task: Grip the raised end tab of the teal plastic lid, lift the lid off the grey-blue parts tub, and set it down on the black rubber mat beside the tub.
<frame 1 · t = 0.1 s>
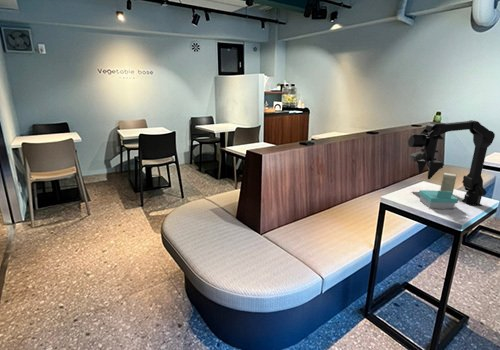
hand: (424, 176, 151), 15 cm above the table, tool pointing down, fingers open, 9 cm apart
lid: (437, 198, 150), point 4 cm above the table, touching tub
tub: (435, 204, 151), on the table
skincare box: (445, 194, 167), on the table
mat: (428, 196, 163), on the table
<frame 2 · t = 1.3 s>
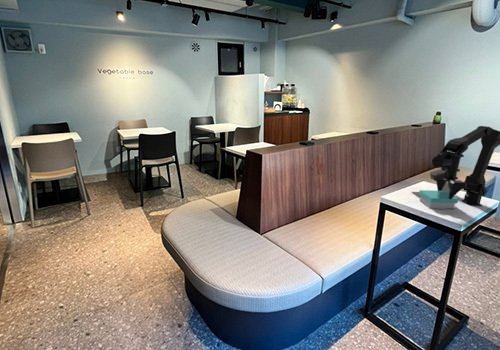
hand: (444, 195, 145), 7 cm above the table, tool pointing down, fingers open, 9 cm apart
nothing on the table moved.
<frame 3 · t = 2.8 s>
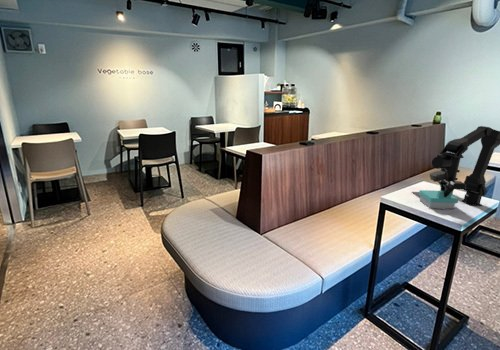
hand: (444, 196, 145), 7 cm above the table, tool pointing down, fingers closed on lid
lid: (437, 198, 150), point 4 cm above the table, touching gripper, tub
everything else where it was.
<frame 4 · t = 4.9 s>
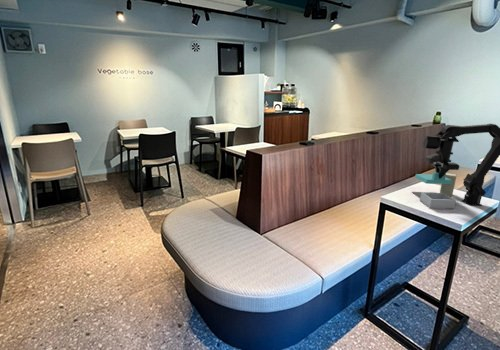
hand: (438, 177, 154), 13 cm above the table, tool pointing down, fingers closed on lid
lid: (432, 180, 159), point 10 cm above the table, touching gripper
everything else where it was.
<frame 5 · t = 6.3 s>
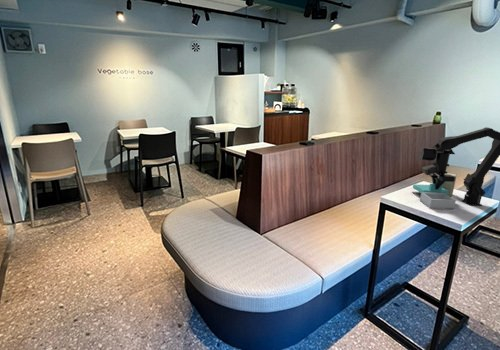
hand: (435, 188, 157), 6 cm above the table, tool pointing down, fingers closed on lid
lid: (429, 191, 162), point 3 cm above the table, touching gripper
everything else where it was.
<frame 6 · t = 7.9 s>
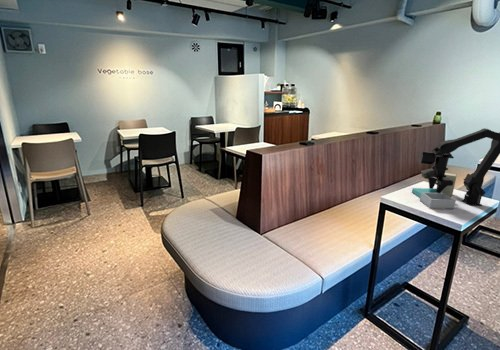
hand: (434, 191, 158), 4 cm above the table, tool pointing down, fingers open, 6 cm apart
lid: (428, 195, 163), resting on mat
everything else where it was.
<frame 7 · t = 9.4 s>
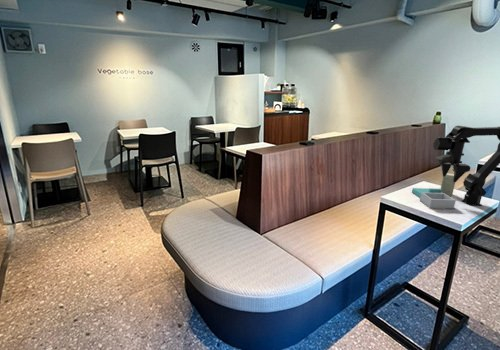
hand: (449, 179, 152), 13 cm above the table, tool pointing down, fingers open, 9 cm apart
nothing on the table moved.
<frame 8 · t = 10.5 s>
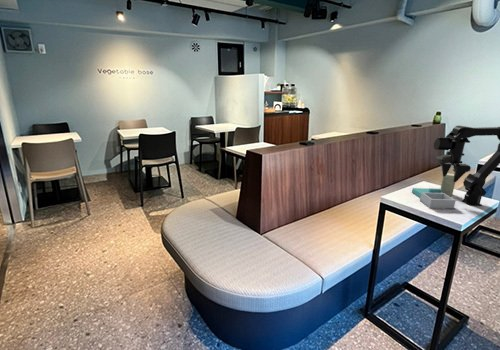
hand: (449, 179, 152), 13 cm above the table, tool pointing down, fingers open, 9 cm apart
nothing on the table moved.
at the end: lid inside the target area (0.2 cm from its centre), resting on mat; lid touching mat; the gripper is holding nothing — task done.
